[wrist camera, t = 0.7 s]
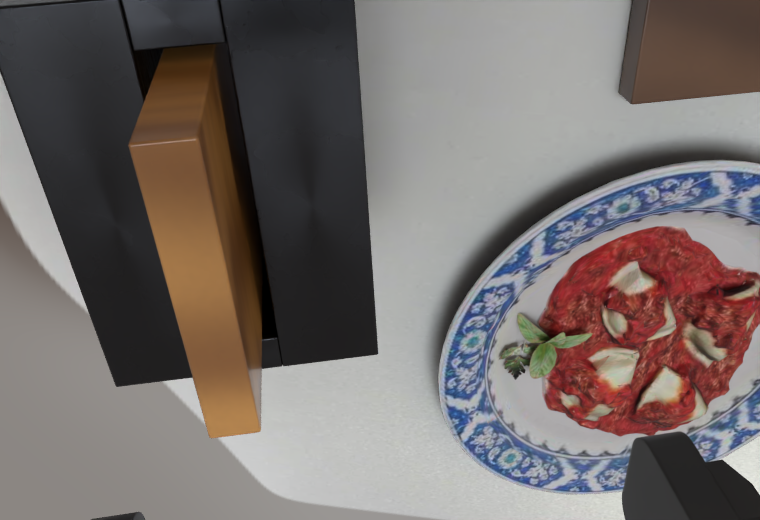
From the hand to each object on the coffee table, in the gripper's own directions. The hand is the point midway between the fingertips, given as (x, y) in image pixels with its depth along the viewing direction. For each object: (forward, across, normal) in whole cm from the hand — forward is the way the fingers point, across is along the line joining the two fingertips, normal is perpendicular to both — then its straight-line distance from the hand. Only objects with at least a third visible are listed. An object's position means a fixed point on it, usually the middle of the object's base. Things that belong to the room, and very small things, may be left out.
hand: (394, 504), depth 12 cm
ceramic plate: (+24, -18, +20) cm, 36 cm away
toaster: (+24, +4, +2) cm, 24 cm away
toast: (+18, +4, +2) cm, 19 cm away
